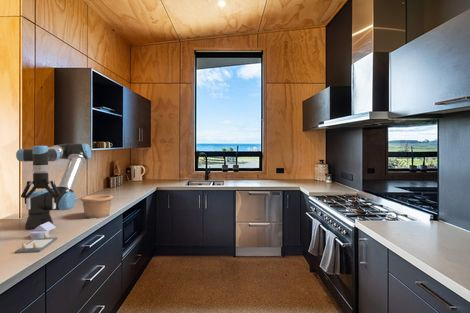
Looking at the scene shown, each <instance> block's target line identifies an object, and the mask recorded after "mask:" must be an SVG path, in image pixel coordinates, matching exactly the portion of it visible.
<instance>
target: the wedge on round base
mask: <svg viewBox="0 0 470 313" xmlns="http://www.w3.org/2000/svg"><path fill="white" fill-rule="evenodd" d="M56 228H57V226H56V225H54V223H53V224H52V223H50V222H47V223H44V224H42V225H39V226H38V227H37V228H35V229H34V230H31V231H30V235H29V236H30V239H31V240H34V239H36V238H44V233H47V238H49V237H50V231H51V230H54V229H56Z"/></svg>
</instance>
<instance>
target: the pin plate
mask: <svg viewBox="0 0 470 313" xmlns="http://www.w3.org/2000/svg"><path fill="white" fill-rule="evenodd" d="M57 240H59V239H58V237H57V236H56V237H54V236H53V237H47V233H44V238H36V239H32V240H31V241H29V242H28V243H26V242H24V243H23V242H22V243H21V247H20V248H18V249H16V250H15V251H14V252H15V253H14V254H24V253H26V254H28V253H29V254H30V253H40V252H43V250H45V249H46V248H47V247H49V246H50V245H51V244H53V243H54V242H55V241H57Z"/></svg>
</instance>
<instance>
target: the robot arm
mask: <svg viewBox="0 0 470 313" xmlns="http://www.w3.org/2000/svg"><path fill="white" fill-rule="evenodd" d="M15 157H16V160H17V161H18V162H24V163H25V162H32V172H33V173H32V180H27V181H26V185H25V187H24V188H23V191H22V193H21V194H20V198H23V199H24V205H26V211H27V212H28V213H27V218H26V222H25V225H24V227H25V230H31V231H33V230H34V229H35V228H37V227H38V226H39V225H42V224H44V223H47V222H50V223H52V224H53V225H54V220H53V218H52V216H51V212H50V211H68V210H71V209H72V208H74V206H75V204H76V198H77V196H76V193H75V191H74V187H75V185H76V182H77V180H78V178H79V177H78V176H79V175H80V173H81V172H80V171H81V169H82V166H83V164H86V162H87V160H90V159H91V158H92V148H91V146H90V144H88V143H82V142H81V143H63V144H61V143H60V144H56V145H55V144H54V145H52V146H48V145H34V146H32V148H21V149H18V150H17V151H16V153H15ZM58 160H68V163H67V165H66V168H65V171H64V172H63V175H62V177H61V180H60V183H59V186H57V185H56V183H55V182H56V181H55V180H54V179H53V180H49V162H56V161H58ZM32 185H33V186H32ZM31 186H32V188H31V189H30V187H31ZM50 186H51V187H50ZM36 189H37V190H36ZM39 189H40V190H39Z"/></svg>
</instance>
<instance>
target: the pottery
mask: <svg viewBox="0 0 470 313" xmlns="http://www.w3.org/2000/svg"><path fill="white" fill-rule="evenodd" d="M113 199H114V196H113V195H112V194H90V195H85V196H82V197H80V201H81V202H82V208H83V212H84V218H86V219H89V218H96V219H102V218H107V217H109V216H110V213H111V207H112V206H111V205H112V200H113Z"/></svg>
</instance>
